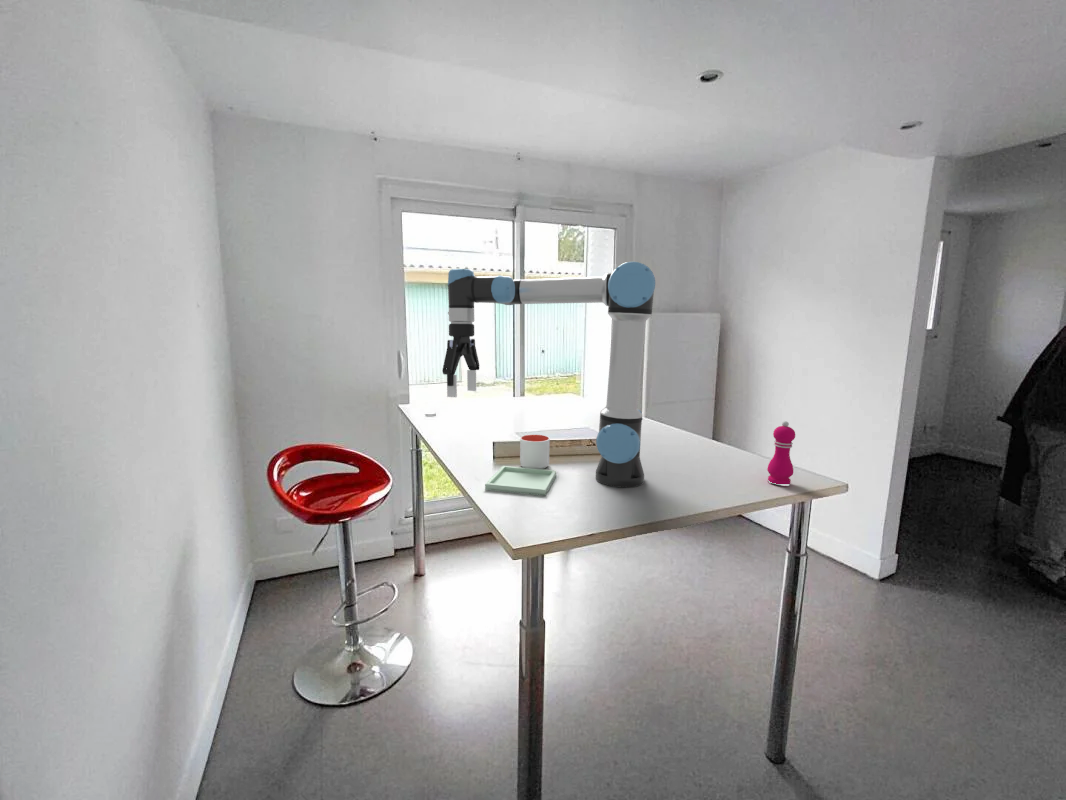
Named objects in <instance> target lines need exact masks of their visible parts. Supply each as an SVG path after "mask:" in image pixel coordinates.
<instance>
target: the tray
mask: <svg viewBox="0 0 1066 800" xmlns="http://www.w3.org/2000/svg"><path fill="white" fill-rule="evenodd" d="M556 478H557V470H555V469H554V470H553V469H546V468H544V469H533V468H524V467H522V466H509V465H502V466H501V467H500V468H499V469H498V470H497V471H496V472H495V473H494V474H493V475H492V476H491V478H489V480H487V481H486V482H485V484H484V489H485V491H491V492H493V491H495V492H502V493H504V492H505V493H513V494H524V495H531V496H546V495H547V493H548V492H549V490H550V488H551V487H552V484H553V482H555V479H556Z"/></svg>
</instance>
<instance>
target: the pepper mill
mask: <svg viewBox="0 0 1066 800" xmlns="http://www.w3.org/2000/svg"><path fill="white" fill-rule="evenodd" d="M772 435H773V438H774V439H775V440H774V443H773V445H774V446H775V449H774V453H773V456H772V459H770V461H769V462H768V465H767V469H766V470H767V472H768V474H769V476H767V481H768V480H769V481H770V482H772V483H776V484H790V485H791V482H792V481H791V477H792V476H793V475H794V465H793V463H792V459H791V456H790V454H791V449H792V448H793V441H794V440H795V438H796V431H795V430H794V429H793V428H792V427H791V426H789V422H788V421H785V420H784V421H782V423H781V425H780V426H778V427H777V426H776V427H775V429H774V431H773V434H772Z"/></svg>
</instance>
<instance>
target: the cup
mask: <svg viewBox="0 0 1066 800" xmlns="http://www.w3.org/2000/svg"><path fill="white" fill-rule="evenodd" d="M519 441H520V442H519V444H520V445H519V446H520V447H519V453H520V454H519V464H520V467H522V468H533V469H547V468H548V466H549V465H550V443H551V438H550V437H549V436H547V435H543V434H526V435H522V436H520V440H519Z"/></svg>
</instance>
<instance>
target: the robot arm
mask: <svg viewBox="0 0 1066 800" xmlns="http://www.w3.org/2000/svg"><path fill="white" fill-rule="evenodd" d="M655 288H656V278H655V275H654V273H653V270H651V269H650V267H649V266H647V265H646V264H644V263H642V262H640V261H639V262H638V261H628V262H624V263H622V264H620V265H618V266H617V267H616V268H615V269H614V270H613V271H612V272H606V273H605V274H604V275H603V276H587V277H584V276H583V277H560V278H559V277H558V278H557V277H555V278H532V279H531V278H529V279H527V278H525V279H513V277H511V276H509V275H493V276H492V275H489V276H488V275H487V276H486V275H485V276H478V275H477V276H476V275H475V272H474V271H473V269H470V268H451V269H450V270H449V271H448V275H447V290H448V291H447V292H448V293H447V294H448V295H447V296H448V298H447V299H448V311H447V314H448V321H449V322H450V323H449V324H448V336H449V337H453V339H448V340H447V341H446V342H447V343H446V344H447V345H446V347H447V348H446V353H445V357H444V360H443V365H442V375H445V376H446V390H447V392H446V393H447V396H446V397H447V398H457V397H458V393H457V392H458V389H457V387H458V385H457V383H458V382H457V380H458V377H457V374H456V371H457V369H458V366H459V363H460V360H461V358H462V357H463V358H464V361H465V363H466V366H467V368H468V369H467V370H466V375H467V376H466V377H467V378H466V379H467V383H466V384H467V392H468V391H470V392H476V391H477V371H480V362H479V356H478V352H477V348H476V340H475V339H476V338H471V337H474V336H475V325H474V323H473V322H475V303H477V304H478V303H484V304H485V303H487V304H488V303H489V304H490V303H492V304H499V305H500V304H501V305H505V306H515V305H533V304H535V305H537V304H539V305H540V304H541V305H542V304H543V305H544V304H545V305H546V304H547V305H548V304H549V305H551V304H593V303H594V304H599V303H601V304H603V305H604V306H606V307H608V310H607V315H609V317H610V318H611V319H612V329H611V341H610V342H611V343H610V354H609V355H610V357H609V369H608V380H607V394H606V405H605V407H604V408H602V410H600V413H599V426H598V432H597V436H596V437H595V438H596V440H595V441H596V448H597V452H598V453H599V454H600V456H601V457H600V459H599V461H598V464H597V467H596V470H595V479H596V481H597V482H598V483H601V484H603V485H606V486H610V487H616V488H635V487H638V486H641V485H642V484H644V483H645V472H644V469H643V466H642V465H643V464H642V460H641V453H640V452H641V440H642V439H641V438H642V437H641V436H642V424H643V418H644V417H643V413H642V411H641V409H638V405H639V393H640V385H641V384H640V382H641V375H642V374H641V373H642V361H643V350H644V349H643V348H644V341H645V340H644V339H645V329H646V328H645V327H646V322H647V321H648V319H650V318H651V317H652V316H653V315H652V314H653V306H654V293H655Z"/></svg>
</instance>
